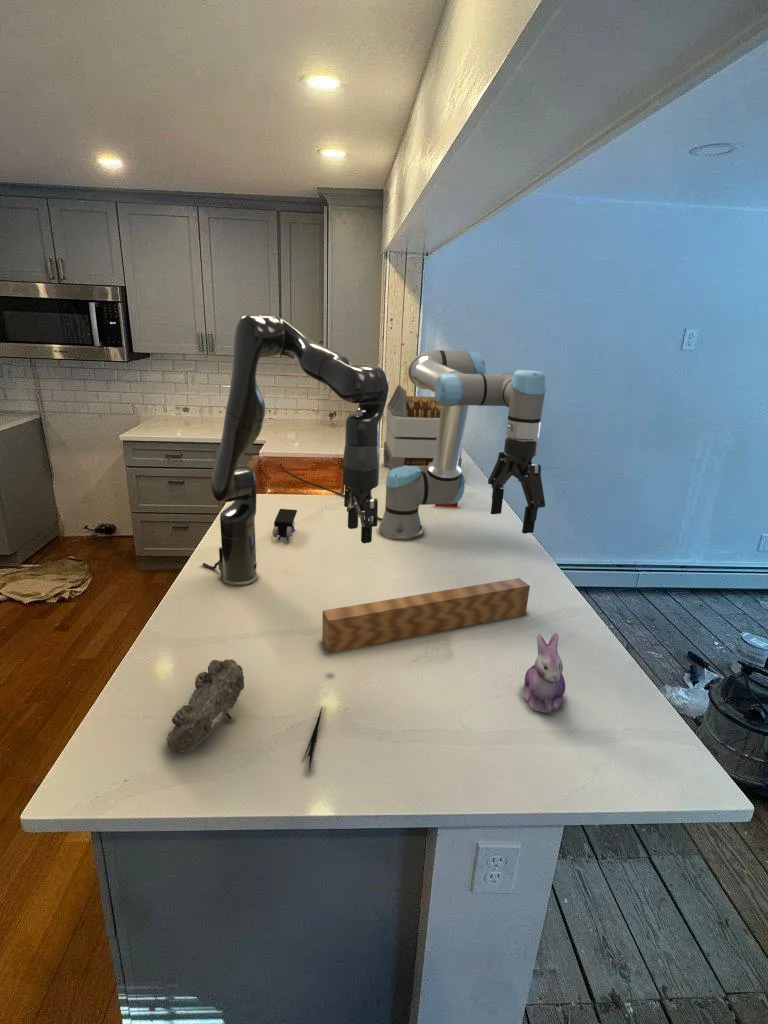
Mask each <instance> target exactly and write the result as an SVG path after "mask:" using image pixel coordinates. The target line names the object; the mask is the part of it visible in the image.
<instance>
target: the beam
mask: <svg viewBox="0 0 768 1024" xmlns="http://www.w3.org/2000/svg"><path fill="white" fill-rule="evenodd" d="M530 588H531V585H530V584H529V583H527V582H526V581H525V580H523V579H521V578H520V577H516V578H509V579H505V580H498V581H492V582H487V583H481V584H475V585H467V586H463V587H457V588H450V589H445V590H438V591H432V592H427V593H420V594H415V595H409V596H403V597H397V598H390V599H385V600H378V601H372V602H365V603H361V604H354V605H349V606H342V607H337V608H330V609H325V610H322V635H321V636H322V637H321V639H322V641H321V642H322V644H323V646H324V648H325V650H326V652H327V653H328V654H332V653H339V652H343V651H348V650H353V649H360V648H363V647H367V646H368V647H369V646H374V645H379V644H383V643H389V642H393V641H399V640H404V639H409V638H414V637H419V636H423V635H430V634H435V633H439V632H445V631H449V630H455V629H460V628H464V627H469V626H475V625H480V624H485V623H490V622H496V621H501V620H506V619H511V618H515V617H516V618H517V617H521V616H525V615H527V609H528V601H529V594H530Z"/></svg>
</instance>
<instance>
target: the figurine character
mask: <svg viewBox="0 0 768 1024" xmlns="http://www.w3.org/2000/svg"><path fill="white" fill-rule="evenodd" d="M297 513H298V510H297V509H290V508H289V509H288V508H279V510H278V511H277V514H276V517H275V519H274V521H273V530H272V537H273V538H277V542H280V541H281V538H282V539H286V540H285V542H288V541H289V539H290V538H291V537H293V534H294V533H295V532H296V529H295V518H296V516H297Z"/></svg>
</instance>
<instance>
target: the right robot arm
mask: <svg viewBox="0 0 768 1024" xmlns="http://www.w3.org/2000/svg"><path fill="white" fill-rule="evenodd" d="M407 373H408V377H409V380H410V381H411V383H412V384H413V385H414V386H416V387H417V388H419V389H420V390H430V392H433V393H434V397H435V398H436V401H437V402H438V403H439V404H440V405H442V407H441V413H440V420H439V426H438V433H437V439H436V445H435V452H434V458H433V462H431V463H429V465H428V466H427V469H426V470H423V471H422V469H421V467H420V466H407V465H404V466H402V467H397V468H394V469H392V470H390V469H389V470H388V472H387V475H386V480H385V504H384V505H385V507H384V508H385V509H384V513H383V515H382V517H378V518H377V521H381V522H379V525H378V533H379V534H380V535H381V536H382V537H385V538H387V539H389V540H395V541H410V540H415V539H418V538H420V537H421V536H422V535H423V525H422V524H421V518H420V515H419V507H420V506H422V505H423V506H424V505H425V506H426V505H428V506H429V505H435V504H444V505H447V504H454V503H457V502H458V503H459V502H460V501H461V500H462V498H463V496H464V493H465V489H466V485H465V483H466V478H465V474H464V473H463V472H462V467H461V468H460V467H459V466H458V462H459V457H460V451H461V446H462V447H463V443H462V441H464V440H463V439H464V433H465V429H466V423H467V418H468V412H469V407H470V406H477V407H479V406H480V407H506V408H508V414H507V415H508V416H507V423H506V434H505V435H506V436H507V437H505V439H504V447H503V451H500V452H499V451H498V456H497V461H496V463H495V465H494V467H493V469H492V471H491V473H490V475H489V478H488V479H487V484H488V485H491V488H492V491H491V492H492V494H491V506H490V514H491V515H501V514H502V510H503V502H504V493H505V489H504V488H505V487H504V486H505V484H506V483H507V482H508V481H509V480H510V479H511V477H512V476H513V477H515V479H517V481H518V482H519V483H520V484H521V487H522V491H523V494H524V498H525V501H526V503H527V504H526V506H525V508H524V513H523V521H522V522H523V523H522V529H521V533H522V534H534V531H535V523H536V521H537V517H538V511H539V508H540V509H542V508H545V507H546V501H545V500H546V499H545V494H544V493H545V492H544V487H543V481H542V475H541V474H542V465H541V464H533V459H534V457H536V456H537V453H538V443H539V442H538V439H539V438H540V431H541V424H542V423H541V422H542V415H543V409H544V400H545V394H546V391H547V388H546V385H547V384H546V383H547V374H546V373H545V372H544V371H539V370H532V369H517V370H515V371H514V372H513V373H511V372H507V373H506V372H501V373H498V374H496V373H495V374H494V373H493V374H491V373H489V374H487V369H486V363H485V360H484V358H483V356H482V355H481V353H480V352H478V351H471V350H446V349H444V350H440V349H432V350H430V349H429V350H426V351H423V352H421V353H419V354H417V355H416V356H415V357H414V358H412V360H411V361H410V363H409V366H408V372H407ZM279 467H280V469H281V470H282V471H283V472H284V473H286V474H287V475H289V476H291V477H292V478H295V479H296V480H298V481H301V482H303V483H306V484H309V485H312V486H313V487H316V488H319V489H322V490H324V491H328V492H331V493H333V494H335V495H339V496H341V497H343V498H344V496H345V494H344V493H341V492H338V491H335V490H333V489H330V488H327V487H324V486H323V485H319V484H316V483H314V482H311V481H308V480H306V479H303V478H301V477H298V476H296V475H295V474H293V473H291V472H289V471H288V470H286V469H285V468H284V467H283V464H282V463H279Z"/></svg>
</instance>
